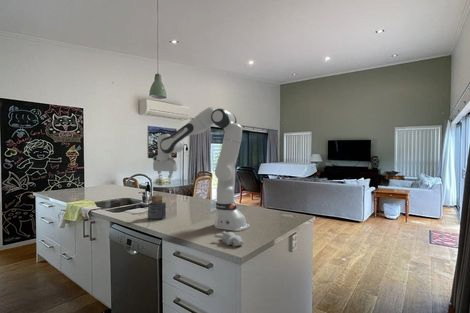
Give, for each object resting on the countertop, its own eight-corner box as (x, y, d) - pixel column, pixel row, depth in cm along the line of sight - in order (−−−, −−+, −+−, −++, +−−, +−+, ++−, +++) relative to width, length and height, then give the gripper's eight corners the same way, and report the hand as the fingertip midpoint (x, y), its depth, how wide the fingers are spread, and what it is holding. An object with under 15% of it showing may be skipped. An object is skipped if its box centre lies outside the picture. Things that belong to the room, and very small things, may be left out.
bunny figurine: (234, 241, 126) (212, 231, 136) (233, 251, 127) (212, 240, 137) (247, 236, 133) (225, 227, 143) (246, 246, 134) (225, 236, 144)
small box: (166, 217, 186) (166, 202, 186) (162, 219, 179) (162, 204, 179) (151, 217, 187) (151, 202, 187) (147, 219, 180) (147, 204, 180)
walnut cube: (162, 203, 183) (162, 195, 183) (156, 204, 179) (156, 196, 179) (157, 202, 186) (157, 195, 186) (151, 203, 182) (151, 196, 182)
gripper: (178, 157, 181) (179, 177, 181) (158, 157, 192) (159, 176, 192) (171, 157, 175) (172, 178, 176) (151, 157, 187) (151, 177, 187)
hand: (165, 177), depth 184 cm, fingers open, 8 cm apart
